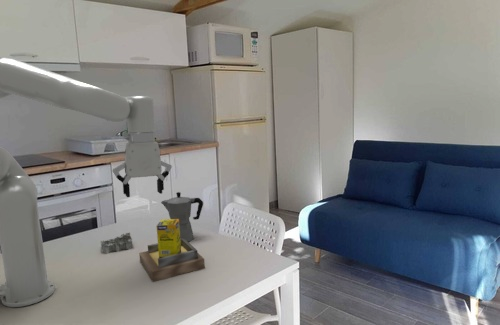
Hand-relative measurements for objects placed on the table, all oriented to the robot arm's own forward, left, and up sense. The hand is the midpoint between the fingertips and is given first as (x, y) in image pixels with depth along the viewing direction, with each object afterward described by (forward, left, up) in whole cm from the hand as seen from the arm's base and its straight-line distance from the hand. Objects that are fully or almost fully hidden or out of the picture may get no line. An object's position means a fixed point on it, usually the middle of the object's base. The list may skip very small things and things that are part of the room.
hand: (144, 194), depth 113 cm
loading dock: (+6, -2, -23) cm, 24 cm away
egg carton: (-6, +22, -24) cm, 33 cm away
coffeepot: (+17, +17, -24) cm, 34 cm away
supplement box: (+6, -2, -20) cm, 21 cm away
